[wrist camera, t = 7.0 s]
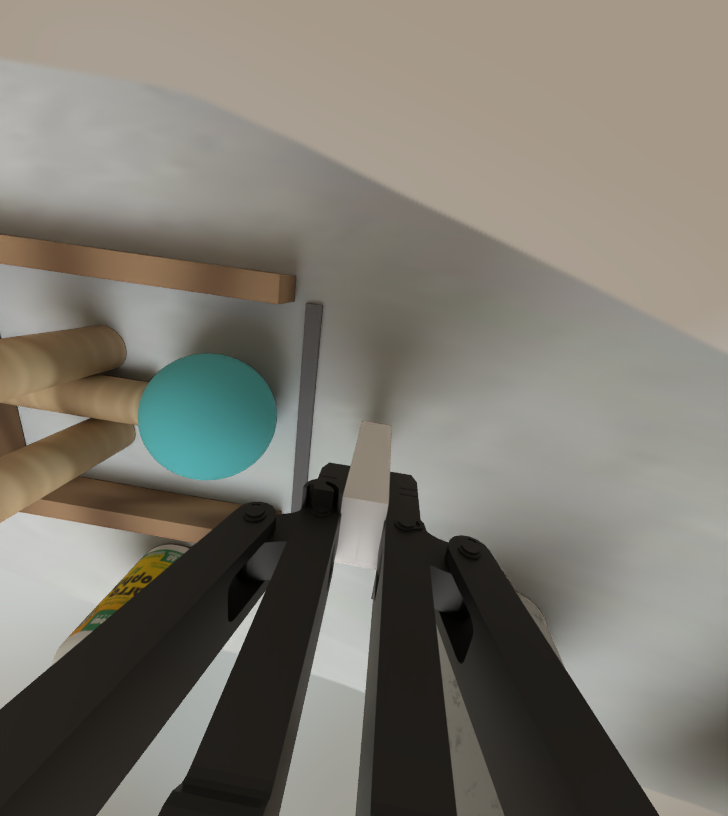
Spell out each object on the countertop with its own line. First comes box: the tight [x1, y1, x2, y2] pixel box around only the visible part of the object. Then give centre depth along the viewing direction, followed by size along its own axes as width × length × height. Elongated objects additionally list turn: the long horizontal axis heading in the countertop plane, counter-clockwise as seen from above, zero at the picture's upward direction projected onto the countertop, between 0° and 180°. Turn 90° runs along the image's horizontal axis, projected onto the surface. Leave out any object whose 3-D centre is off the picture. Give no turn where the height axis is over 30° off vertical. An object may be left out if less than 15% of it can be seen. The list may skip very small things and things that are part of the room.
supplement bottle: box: [52, 544, 189, 665], centre depth 20 cm, size 5×5×10 cm
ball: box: [138, 353, 277, 480], centre depth 17 cm, size 6×6×6 cm
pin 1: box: [0, 325, 126, 402], centre depth 15 cm, size 2×2×8 cm
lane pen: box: [0, 234, 296, 543], centre depth 18 cm, size 18×15×3 cm
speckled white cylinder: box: [436, 592, 565, 816], centre depth 18 cm, size 10×10×12 cm
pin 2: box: [0, 418, 135, 523], centre depth 17 cm, size 2×2×8 cm
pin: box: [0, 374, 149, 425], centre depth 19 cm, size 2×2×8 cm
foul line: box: [291, 303, 323, 513], centre depth 19 cm, size 1×13×1 cm, turn 172°
